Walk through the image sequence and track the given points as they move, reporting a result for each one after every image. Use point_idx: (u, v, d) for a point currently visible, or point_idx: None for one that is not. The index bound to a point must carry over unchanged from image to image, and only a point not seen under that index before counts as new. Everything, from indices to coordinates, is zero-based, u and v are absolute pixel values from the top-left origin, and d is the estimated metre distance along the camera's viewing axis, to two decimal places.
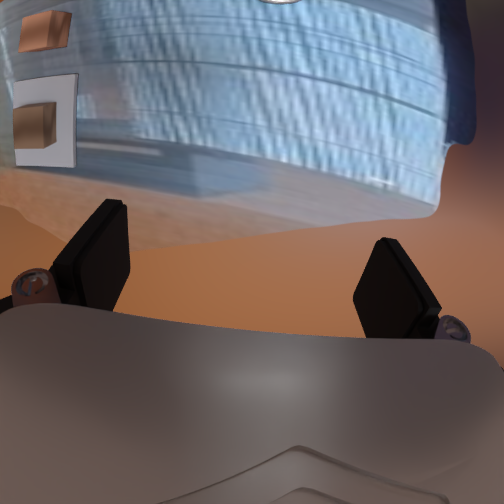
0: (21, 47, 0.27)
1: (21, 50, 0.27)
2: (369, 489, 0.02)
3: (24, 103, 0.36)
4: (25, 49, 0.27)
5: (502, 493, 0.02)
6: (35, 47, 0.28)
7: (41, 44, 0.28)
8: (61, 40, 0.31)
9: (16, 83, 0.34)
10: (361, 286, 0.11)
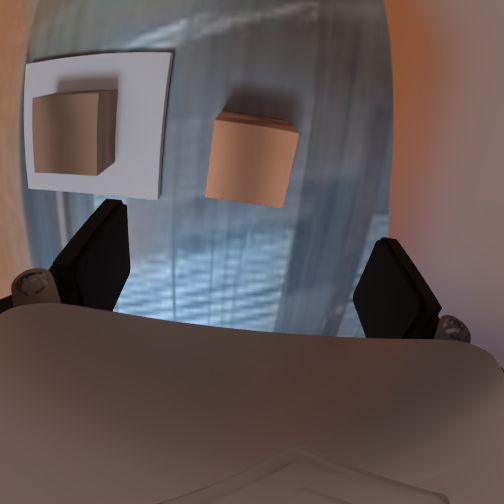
0: (225, 128, 0.20)
1: (216, 130, 0.20)
2: (369, 489, 0.02)
3: (121, 83, 0.22)
4: (215, 141, 0.21)
5: (502, 493, 0.02)
6: (211, 169, 0.22)
7: (214, 185, 0.23)
8: None
9: (166, 59, 0.21)
10: (361, 286, 0.11)
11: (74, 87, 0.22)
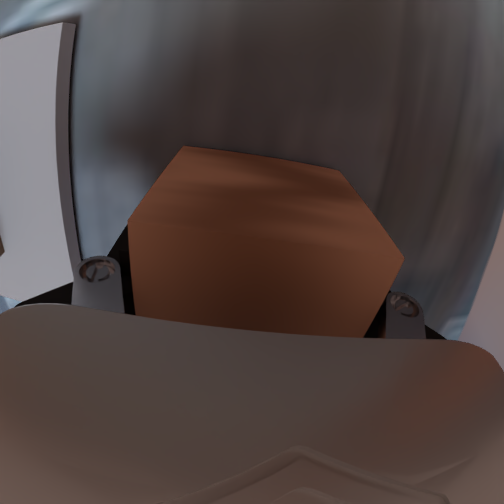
0: (166, 247, 0.06)
1: (138, 254, 0.06)
2: (369, 489, 0.02)
3: None
4: (142, 282, 0.07)
5: (502, 493, 0.02)
6: None
7: None
8: None
9: (53, 40, 0.07)
10: None
11: None
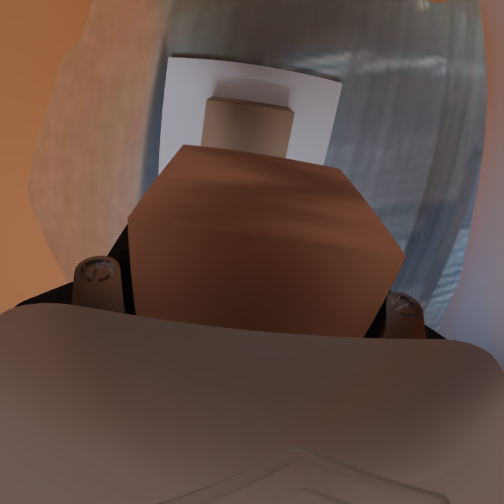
0: (167, 244, 0.06)
1: (138, 252, 0.06)
2: (369, 489, 0.02)
3: (292, 102, 0.25)
4: (142, 281, 0.07)
5: (502, 493, 0.02)
6: None
7: None
8: None
9: (337, 88, 0.25)
10: None
11: (237, 95, 0.25)
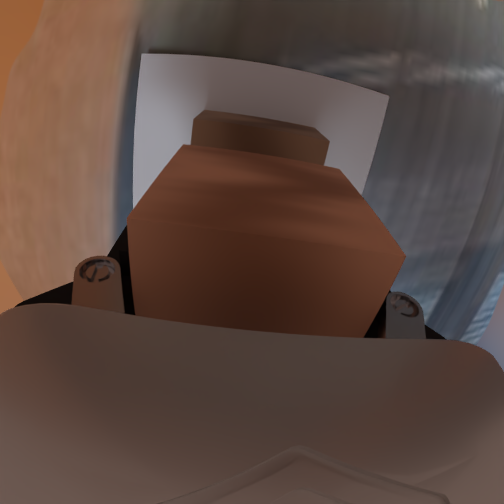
0: (166, 244, 0.06)
1: (138, 252, 0.06)
2: (369, 489, 0.02)
3: (319, 120, 0.18)
4: (142, 280, 0.07)
5: (502, 493, 0.02)
6: None
7: None
8: None
9: (382, 103, 0.17)
10: None
11: (240, 108, 0.17)
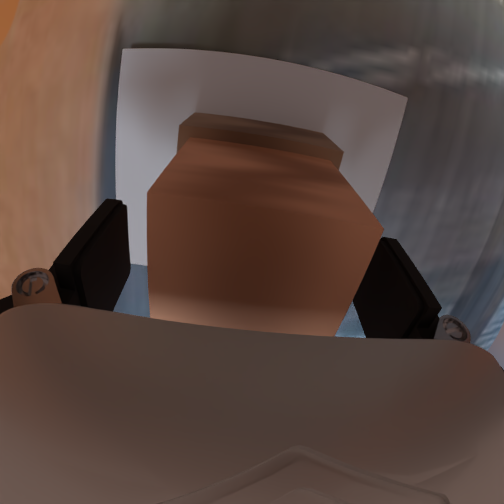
0: (179, 215, 0.07)
1: (154, 221, 0.07)
2: (369, 489, 0.02)
3: (329, 124, 0.15)
4: (156, 248, 0.08)
5: (502, 493, 0.02)
6: (156, 308, 0.09)
7: None
8: None
9: (400, 106, 0.14)
10: (361, 286, 0.11)
11: (237, 110, 0.15)
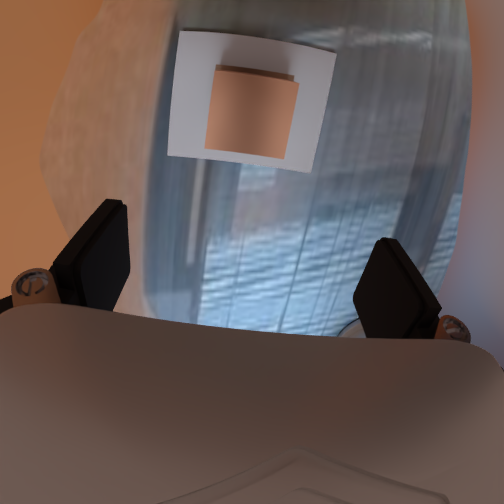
0: (225, 78, 0.19)
1: (216, 80, 0.19)
2: (369, 489, 0.02)
3: (291, 70, 0.27)
4: (215, 91, 0.19)
5: (502, 493, 0.02)
6: (210, 120, 0.21)
7: (213, 136, 0.21)
8: None
9: (332, 58, 0.26)
10: (361, 286, 0.11)
11: (242, 63, 0.26)
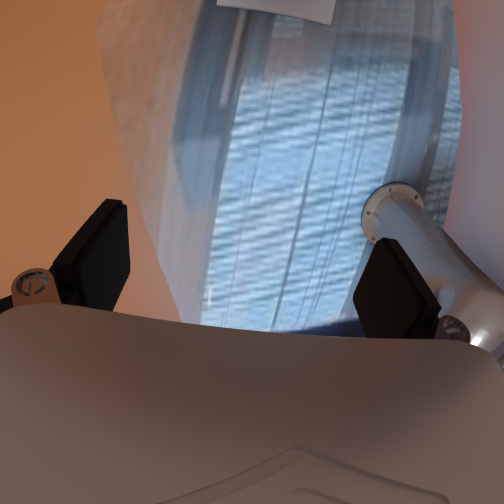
0: None
1: None
2: (369, 489, 0.02)
3: None
4: None
5: (502, 493, 0.02)
6: None
7: None
8: None
9: None
10: (361, 286, 0.11)
11: None
